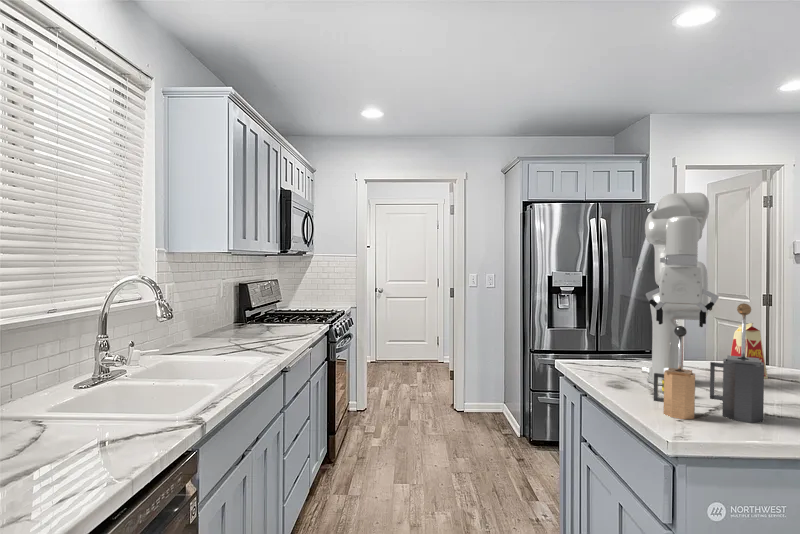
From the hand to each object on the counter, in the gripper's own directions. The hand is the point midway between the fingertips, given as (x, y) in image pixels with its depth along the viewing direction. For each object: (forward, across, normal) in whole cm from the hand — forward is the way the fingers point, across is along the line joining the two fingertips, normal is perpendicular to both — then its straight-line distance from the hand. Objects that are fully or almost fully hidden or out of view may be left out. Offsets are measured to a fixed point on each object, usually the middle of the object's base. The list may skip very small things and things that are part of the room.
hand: (680, 325), depth 138 cm
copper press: (+24, -1, +1) cm, 25 cm away
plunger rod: (+15, +14, +8) cm, 23 cm away
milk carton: (+24, +17, +71) cm, 77 cm away
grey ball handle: (+18, 0, +1) cm, 18 cm away
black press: (+24, +13, +8) cm, 29 cm away
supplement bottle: (+24, -4, +22) cm, 33 cm away
